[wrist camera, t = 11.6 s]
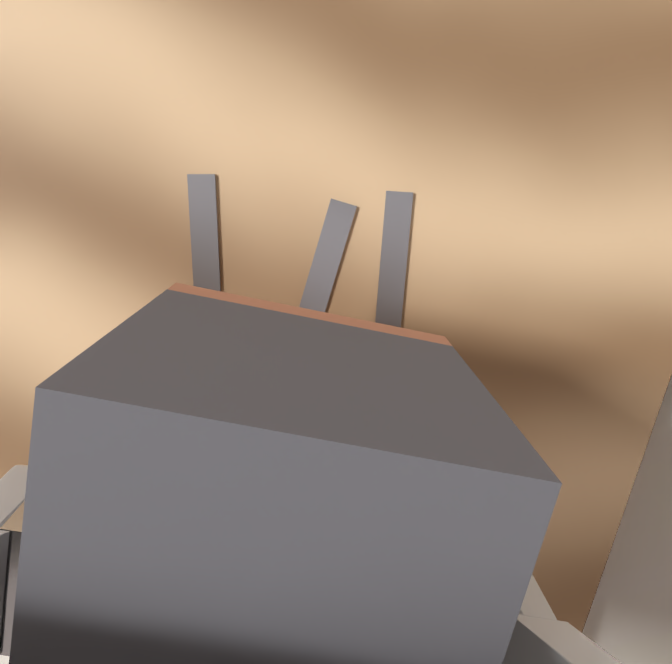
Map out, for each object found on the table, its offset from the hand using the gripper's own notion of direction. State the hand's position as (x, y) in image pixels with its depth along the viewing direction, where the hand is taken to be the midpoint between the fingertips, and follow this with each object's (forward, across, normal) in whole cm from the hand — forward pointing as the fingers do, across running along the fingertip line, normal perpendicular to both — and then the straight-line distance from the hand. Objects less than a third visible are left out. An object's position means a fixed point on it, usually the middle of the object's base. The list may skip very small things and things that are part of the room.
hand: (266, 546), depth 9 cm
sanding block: (+2, 0, 0) cm, 2 cm away
